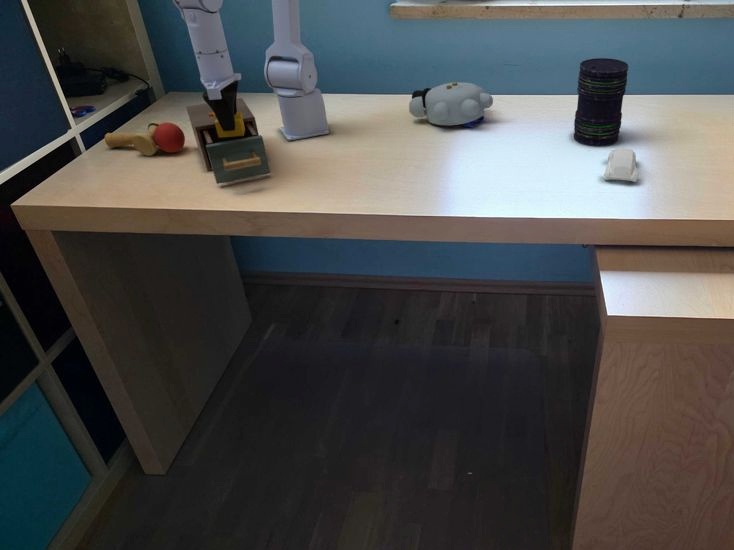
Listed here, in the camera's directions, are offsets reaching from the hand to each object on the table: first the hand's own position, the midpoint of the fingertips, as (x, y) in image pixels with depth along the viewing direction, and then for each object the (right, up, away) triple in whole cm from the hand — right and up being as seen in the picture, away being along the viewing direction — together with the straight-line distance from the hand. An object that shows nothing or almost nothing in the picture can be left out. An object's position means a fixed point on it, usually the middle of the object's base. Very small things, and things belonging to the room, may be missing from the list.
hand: (230, 126), depth 121 cm
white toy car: (+75, -8, +3) cm, 76 cm away
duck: (0, -1, +1) cm, 1 cm away
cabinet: (-5, -1, +13) cm, 14 cm away
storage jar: (+73, +3, +17) cm, 75 cm away
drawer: (0, -7, +4) cm, 8 cm away
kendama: (-24, 0, +16) cm, 28 cm away
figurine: (+41, +11, +28) cm, 51 cm away
